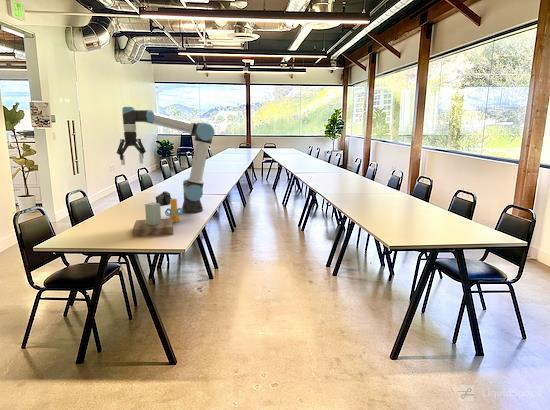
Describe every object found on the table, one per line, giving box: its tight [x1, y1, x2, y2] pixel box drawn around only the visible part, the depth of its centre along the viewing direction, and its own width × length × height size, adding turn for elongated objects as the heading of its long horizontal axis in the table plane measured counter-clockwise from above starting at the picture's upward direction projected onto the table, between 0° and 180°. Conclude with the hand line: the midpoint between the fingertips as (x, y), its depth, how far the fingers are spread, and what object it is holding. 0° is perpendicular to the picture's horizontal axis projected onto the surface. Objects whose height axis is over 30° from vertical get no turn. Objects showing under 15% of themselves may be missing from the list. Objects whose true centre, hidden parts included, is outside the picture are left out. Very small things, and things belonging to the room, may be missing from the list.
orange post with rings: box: [164, 198, 184, 223], centre depth 250 cm, size 12×10×15 cm
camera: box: [155, 190, 173, 206], centre depth 307 cm, size 13×10×10 cm
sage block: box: [144, 202, 162, 225], centre depth 228 cm, size 6×6×12 cm
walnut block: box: [132, 217, 174, 238], centre depth 230 cm, size 22×22×5 cm
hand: (132, 164), depth 252 cm, fingers open, 13 cm apart
